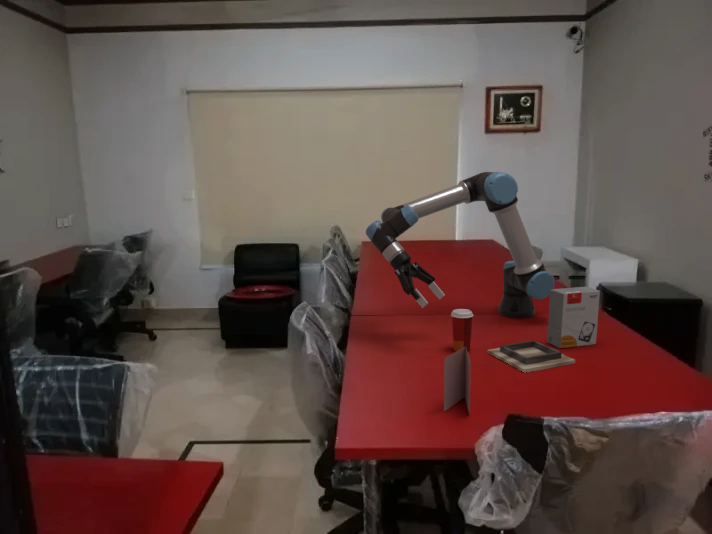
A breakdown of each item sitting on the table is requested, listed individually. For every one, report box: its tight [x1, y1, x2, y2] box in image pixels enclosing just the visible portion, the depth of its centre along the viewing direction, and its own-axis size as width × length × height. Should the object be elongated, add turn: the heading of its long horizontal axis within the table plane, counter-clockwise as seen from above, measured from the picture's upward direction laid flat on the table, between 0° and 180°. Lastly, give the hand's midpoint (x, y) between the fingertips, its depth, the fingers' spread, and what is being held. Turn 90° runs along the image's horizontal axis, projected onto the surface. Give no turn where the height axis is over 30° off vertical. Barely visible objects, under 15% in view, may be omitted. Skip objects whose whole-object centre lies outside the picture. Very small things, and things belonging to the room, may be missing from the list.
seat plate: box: [487, 339, 576, 374], centre depth 186 cm, size 20×20×3 cm
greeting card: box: [443, 347, 471, 416], centre depth 150 cm, size 11×7×15 cm, turn 141°
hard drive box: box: [546, 286, 601, 349], centre depth 198 cm, size 16×8×20 cm, turn 105°
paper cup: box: [450, 308, 474, 352], centre depth 195 cm, size 8×8×14 cm
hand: (434, 301), depth 199 cm, fingers open, 13 cm apart
